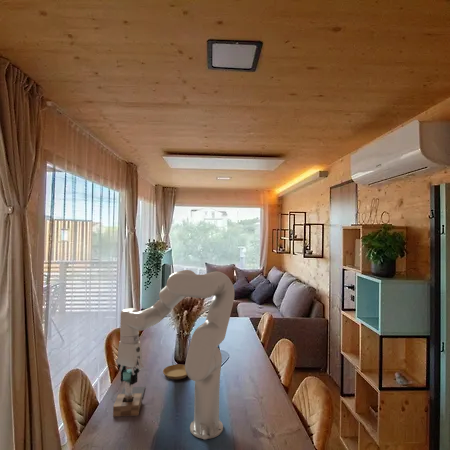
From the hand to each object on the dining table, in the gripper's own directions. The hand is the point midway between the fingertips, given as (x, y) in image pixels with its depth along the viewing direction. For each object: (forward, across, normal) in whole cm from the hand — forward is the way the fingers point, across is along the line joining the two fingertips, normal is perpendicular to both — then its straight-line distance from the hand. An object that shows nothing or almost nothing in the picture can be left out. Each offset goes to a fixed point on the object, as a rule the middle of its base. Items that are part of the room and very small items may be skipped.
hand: (129, 381), depth 136 cm
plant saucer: (+12, +1, -37) cm, 39 cm away
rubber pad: (+12, +8, -11) cm, 18 cm away
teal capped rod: (+11, 0, 0) cm, 11 cm away
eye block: (+12, 0, 0) cm, 12 cm away
